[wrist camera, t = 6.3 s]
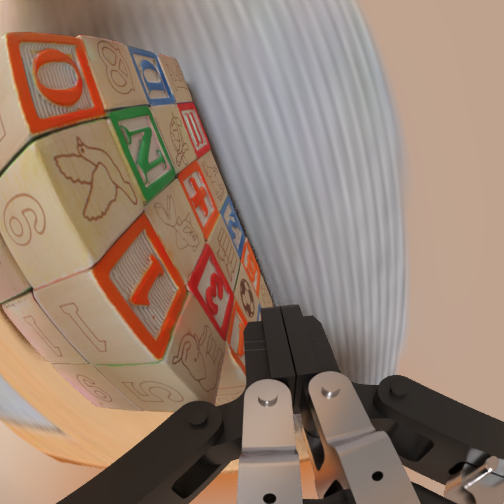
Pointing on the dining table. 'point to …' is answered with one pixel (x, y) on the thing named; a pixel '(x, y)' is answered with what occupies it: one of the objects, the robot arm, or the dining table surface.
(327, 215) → the dining table surface
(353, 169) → the dining table surface
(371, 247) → the dining table surface
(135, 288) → the stack of blocks
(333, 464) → the robot arm
